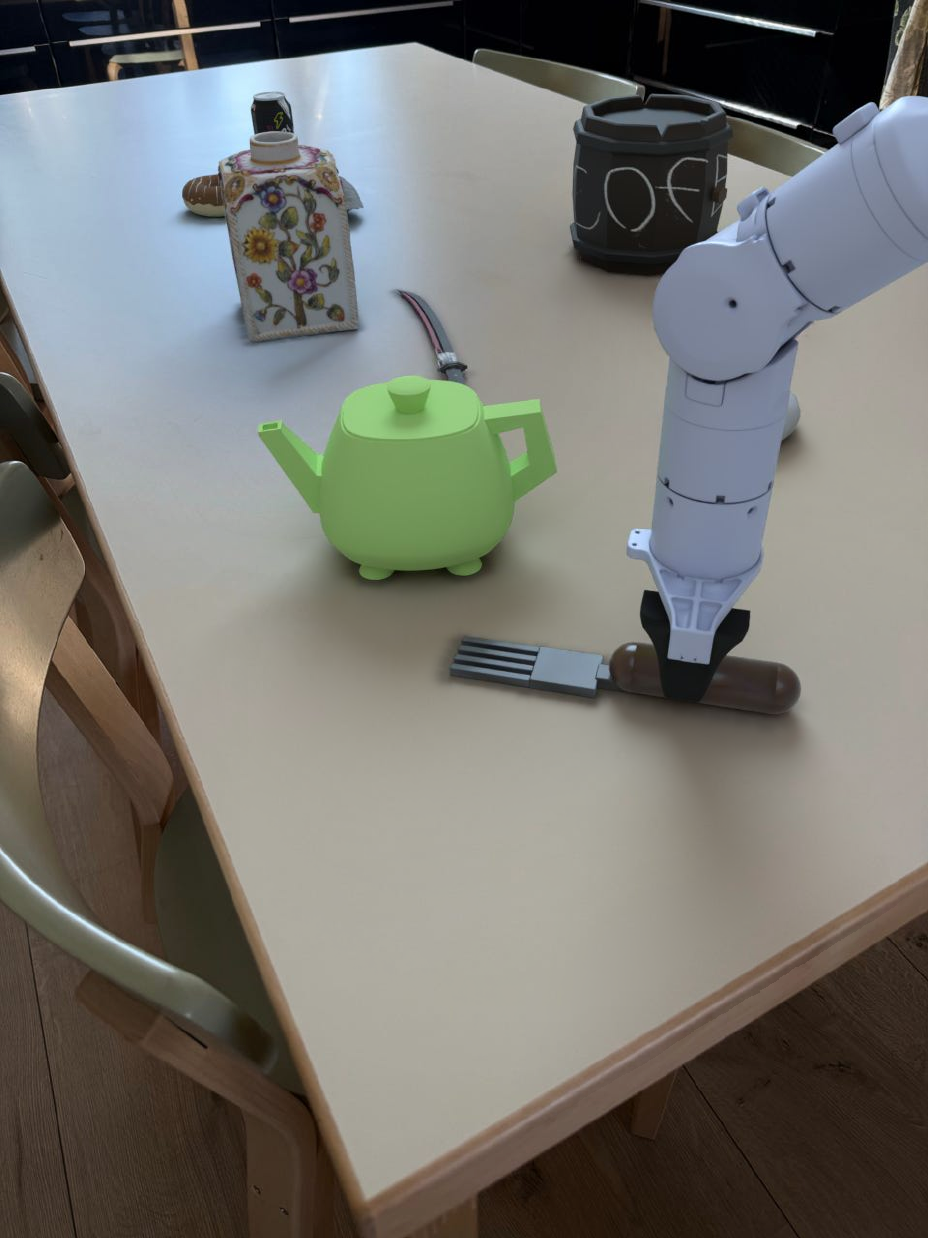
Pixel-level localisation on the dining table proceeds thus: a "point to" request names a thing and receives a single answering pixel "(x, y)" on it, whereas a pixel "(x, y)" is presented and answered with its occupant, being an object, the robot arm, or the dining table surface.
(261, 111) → the beverage can
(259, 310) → the decorative jar
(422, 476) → the teapot
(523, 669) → the fork
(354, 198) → the seashell
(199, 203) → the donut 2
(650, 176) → the wooden barrel
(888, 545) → the dining table surface
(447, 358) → the sword
